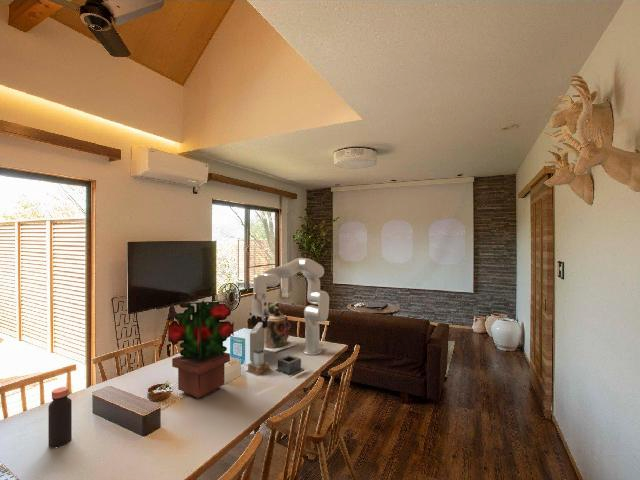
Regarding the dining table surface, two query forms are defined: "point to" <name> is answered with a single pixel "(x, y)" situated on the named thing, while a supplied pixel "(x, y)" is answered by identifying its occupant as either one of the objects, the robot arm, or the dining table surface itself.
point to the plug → (258, 357)
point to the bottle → (59, 418)
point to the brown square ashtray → (258, 368)
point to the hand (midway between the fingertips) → (259, 326)
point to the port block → (289, 365)
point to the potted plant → (201, 346)
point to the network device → (256, 339)
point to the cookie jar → (277, 330)
